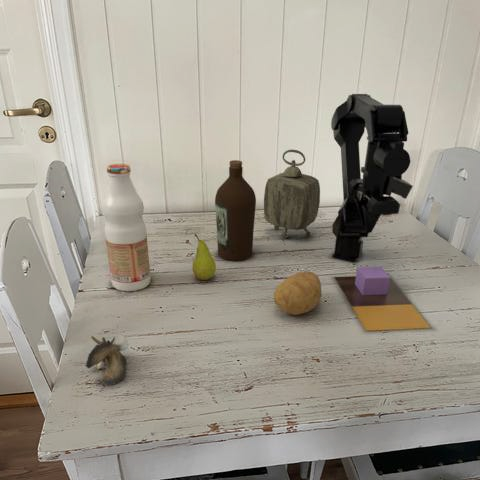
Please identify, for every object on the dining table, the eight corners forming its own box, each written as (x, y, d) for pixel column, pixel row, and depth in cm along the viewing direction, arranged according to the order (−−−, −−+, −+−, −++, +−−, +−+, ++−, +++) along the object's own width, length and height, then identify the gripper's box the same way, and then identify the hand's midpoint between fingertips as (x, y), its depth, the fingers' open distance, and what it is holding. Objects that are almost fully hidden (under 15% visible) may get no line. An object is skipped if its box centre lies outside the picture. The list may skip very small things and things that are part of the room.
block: (354, 283, 120) (357, 267, 117) (378, 283, 120) (381, 266, 118) (362, 295, 115) (365, 278, 112) (387, 294, 115) (390, 277, 113)
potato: (329, 301, 112) (333, 270, 108) (304, 329, 102) (308, 296, 98) (291, 291, 116) (293, 260, 112) (263, 317, 106) (265, 284, 102)
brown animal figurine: (81, 353, 91) (76, 375, 83) (98, 322, 90) (95, 340, 82) (118, 370, 94) (117, 392, 86) (136, 339, 92) (136, 359, 84)
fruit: (220, 278, 121) (220, 233, 115) (203, 286, 118) (202, 240, 111) (204, 271, 125) (203, 227, 118) (187, 279, 121) (185, 233, 115)
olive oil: (245, 244, 140) (246, 155, 127) (260, 258, 132) (264, 164, 119) (210, 250, 137) (208, 158, 124) (224, 265, 128) (223, 168, 115)
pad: (352, 307, 110) (352, 306, 110) (411, 305, 111) (411, 304, 111) (366, 331, 102) (366, 330, 102) (430, 328, 103) (430, 327, 103)
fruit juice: (114, 294, 113) (98, 173, 99) (109, 277, 121) (93, 162, 106) (154, 288, 116) (144, 169, 102) (146, 272, 124) (136, 159, 109)
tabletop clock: (316, 236, 146) (324, 150, 133) (302, 246, 140) (310, 156, 127) (274, 226, 153) (278, 143, 140) (259, 235, 146) (262, 149, 133)
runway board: (334, 277, 123) (334, 277, 123) (388, 276, 124) (388, 275, 124) (352, 307, 110) (352, 306, 110) (411, 305, 111) (411, 304, 111)
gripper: (429, 175, 103) (414, 244, 111) (396, 155, 119) (385, 216, 127) (378, 176, 102) (367, 245, 110) (352, 155, 118) (343, 217, 126)
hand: (367, 230), depth 118 cm, fingers closed
